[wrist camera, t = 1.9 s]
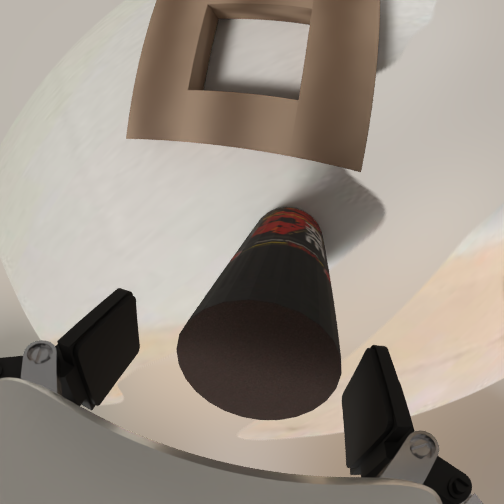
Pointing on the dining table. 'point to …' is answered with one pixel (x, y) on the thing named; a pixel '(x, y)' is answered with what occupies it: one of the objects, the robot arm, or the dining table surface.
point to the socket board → (253, 105)
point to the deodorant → (267, 325)
